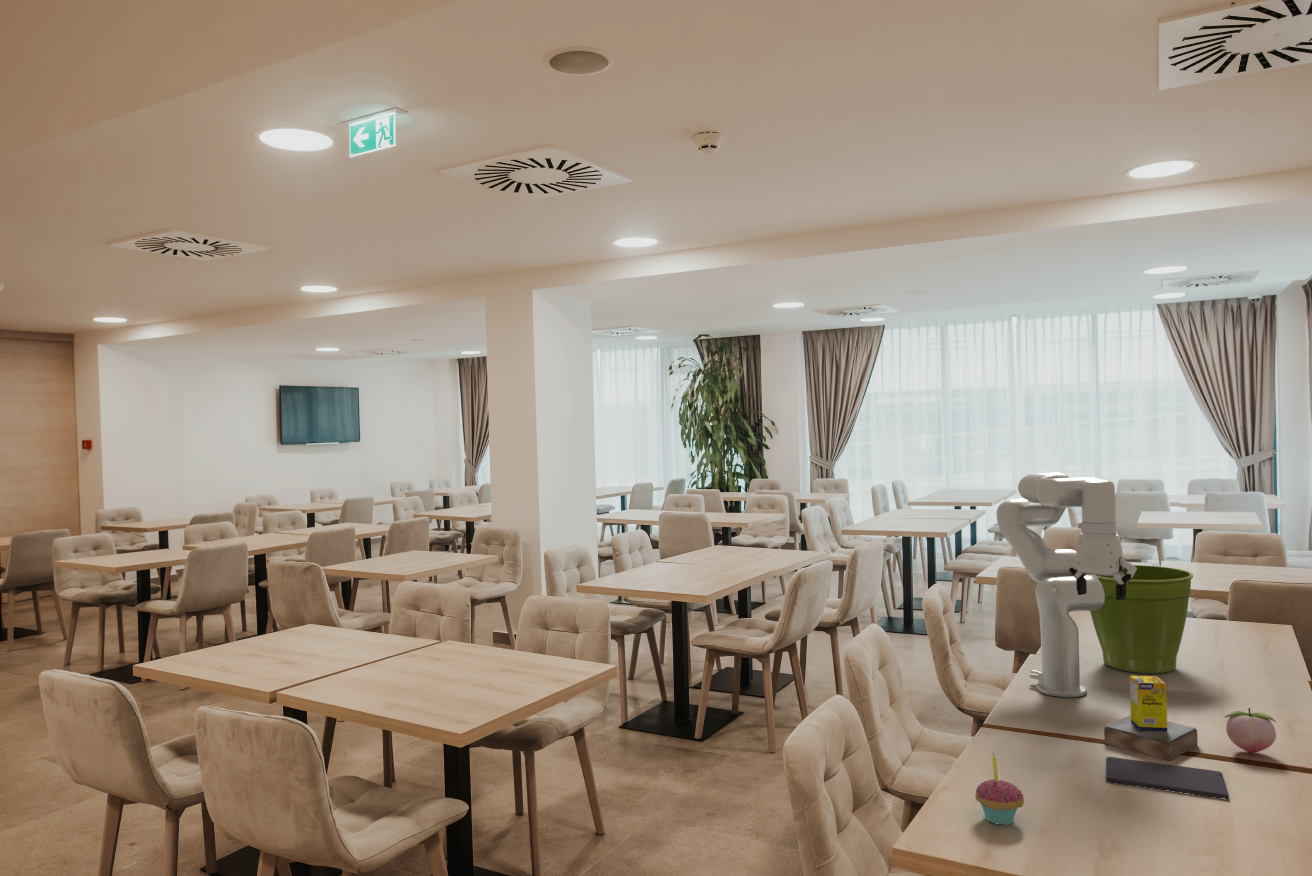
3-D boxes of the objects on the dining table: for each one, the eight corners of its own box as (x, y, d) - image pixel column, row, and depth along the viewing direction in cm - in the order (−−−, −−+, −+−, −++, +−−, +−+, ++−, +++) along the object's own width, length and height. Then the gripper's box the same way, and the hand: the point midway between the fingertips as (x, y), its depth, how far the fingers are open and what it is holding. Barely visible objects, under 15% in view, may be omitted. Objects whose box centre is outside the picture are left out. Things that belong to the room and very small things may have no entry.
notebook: (1105, 784, 177) (1229, 802, 167) (1105, 777, 177) (1228, 794, 167) (1106, 763, 188) (1222, 778, 178) (1106, 756, 188) (1221, 771, 178)
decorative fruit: (1268, 747, 192) (1267, 703, 192) (1281, 761, 185) (1280, 715, 185) (1220, 744, 196) (1218, 700, 195) (1231, 757, 188) (1229, 711, 188)
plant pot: (1196, 660, 264) (1193, 567, 264) (1195, 685, 239) (1192, 582, 239) (1088, 649, 280) (1086, 562, 280) (1077, 672, 255) (1075, 576, 255)
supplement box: (1168, 731, 193) (1166, 683, 193) (1139, 730, 195) (1137, 682, 195) (1158, 722, 199) (1157, 675, 199) (1130, 721, 200) (1128, 675, 200)
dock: (1104, 743, 198) (1104, 726, 198) (1134, 729, 206) (1133, 713, 206) (1169, 760, 187) (1168, 742, 187) (1197, 745, 195) (1197, 728, 195)
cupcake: (968, 811, 166) (966, 749, 166) (1010, 808, 166) (1008, 746, 166) (989, 831, 157) (987, 766, 157) (1033, 828, 158) (1031, 763, 158)
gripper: (1058, 528, 221) (1060, 594, 221) (1127, 533, 207) (1129, 603, 207) (1073, 525, 225) (1075, 590, 225) (1142, 530, 211) (1144, 599, 211)
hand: (1101, 596), depth 216 cm, fingers open, 9 cm apart
